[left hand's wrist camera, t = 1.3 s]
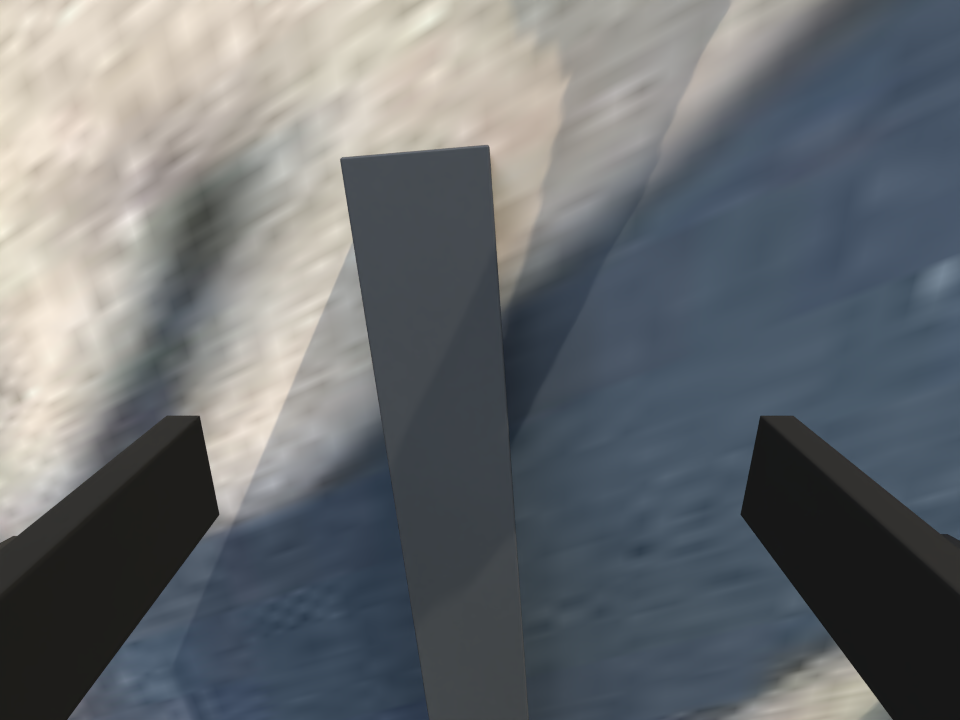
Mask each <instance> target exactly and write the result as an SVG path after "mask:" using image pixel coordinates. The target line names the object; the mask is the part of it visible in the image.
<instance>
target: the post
mask: <svg viewBox="0 0 960 720" xmlns="http://www.w3.org/2000/svg"><path fill="white" fill-rule="evenodd" d="M340 161H341V168H342V174H343V180H344V187H345V193H346V199H347V206H348V212H349V218H350V224H351V231H352V237H353V243H354V250H355V256H356V262H357V268H358V275H359V281H360V287H361V294H362V300H363V306H364V313H365V319H366V325H367V331H368V338H369V344H370V350H371V357H372V363H373V369H374V375H375V382H376V388H377V394H378V401H379V407H380V413H381V420H382V426H383V432H384V438H385V445H386V451H387V457H388V464H389V470H390V476H391V482H392V489H393V495H394V501H395V508H396V514H397V520H398V527H399V533H400V539H401V545H402V552H403V558H404V564H405V571H406V577H407V583H408V589H409V596H410V602H411V608H412V615H413V621H414V627H415V634H416V640H417V646H418V652H419V659H420V665H421V671H422V678H423V684H424V690H425V696H426V703H427V709H428V715H429V720H529V717H528V703H527V688H526V674H525V659H524V645H523V630H522V616H521V601H520V586H519V572H518V557H517V543H516V528H515V514H514V499H513V484H512V470H511V455H510V441H509V426H508V412H507V397H506V382H505V368H504V353H503V339H502V324H501V310H500V295H499V281H498V266H497V251H496V237H495V222H494V208H493V193H492V179H491V164H490V149H489V146H488V145H481V146H469V147H458V148H446V149H435V150H423V151H411V152H400V153H388V154H377V155H365V156H354V157H342V158H341V159H340Z"/></svg>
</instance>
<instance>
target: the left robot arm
mask: <svg viewBox="0 0 960 720" xmlns="http://www.w3.org/2000/svg"><path fill="white" fill-rule="evenodd" d="M218 516H219V510H218V505H217V500H216V495H215V490H214V485H213V480H212V475H211V470H210V465H209V460H208V455H207V450H206V445H205V440H204V435H203V430H202V425H201V420H200V416H166V417H165V418H163V419H162V420H161V421H160V422H158V423H157V424H156V425H155V426H154V427H152V428H151V429H150V430H149V431H147V432H146V433H145V434H144V435H142V436H141V437H140V438H139V439H137V440H136V441H135V442H134V443H132V444H131V445H130V446H129V447H127V448H126V449H125V450H124V451H122V452H121V453H120V454H119V455H117V456H116V457H115V458H114V459H113V460H111V461H110V462H109V463H108V464H106V465H105V466H104V467H103V468H101V469H100V470H99V471H98V472H96V473H95V474H94V475H93V476H91V477H90V478H89V479H88V480H86V481H85V482H84V483H83V484H81V485H80V486H79V487H78V488H76V489H75V490H74V491H73V492H71V493H70V494H69V495H68V496H67V497H65V498H64V499H63V500H62V501H60V502H59V503H58V504H57V505H55V506H54V507H53V508H52V509H50V510H49V511H48V512H47V513H45V514H44V515H43V516H42V517H40V518H39V519H38V520H37V521H35V522H34V523H33V524H32V525H30V526H29V527H28V528H27V529H25V530H24V531H23V532H22V533H21V534H19V535H18V536H13V537H11V538H9V539H7V540H5V541H3V542H1V543H0V720H67V719H68V718H69V716H70V715H71V714H72V712H73V711H74V710H75V708H76V707H77V706H78V704H79V703H80V702H81V700H82V699H83V697H84V696H85V695H86V693H87V692H88V691H89V689H90V688H91V687H92V685H93V684H94V683H95V681H96V680H97V679H98V677H99V676H100V675H101V673H102V672H103V671H104V669H105V668H106V667H107V665H108V664H109V662H110V661H111V660H112V658H113V657H114V656H115V654H116V653H117V652H118V650H119V649H120V648H121V646H122V645H123V644H124V642H125V641H126V640H127V638H128V637H129V636H130V634H131V633H132V632H133V630H134V629H135V628H136V626H137V625H138V623H139V622H140V621H141V619H142V618H143V617H144V615H145V614H146V613H147V611H148V610H149V609H150V607H151V606H152V605H153V603H154V602H155V601H156V599H157V598H158V597H159V595H160V594H161V593H162V591H163V590H164V588H165V587H166V586H167V584H168V583H169V582H170V580H171V579H172V578H173V576H174V575H175V574H176V572H177V571H178V570H179V568H180V567H181V566H182V564H183V563H184V562H185V560H186V559H187V558H188V556H189V555H190V553H191V552H192V551H193V549H194V548H195V547H196V545H197V544H198V543H199V541H200V540H201V539H202V537H203V536H204V535H205V533H206V532H207V531H208V529H209V528H210V527H211V525H212V524H213V523H214V521H215V520H216V518H217V517H218ZM741 516H742V517H743V518H744V520H745V521H746V523H747V524H748V525H749V527H750V528H751V529H752V531H753V532H754V533H755V535H756V536H757V537H758V539H759V540H760V541H761V543H762V544H763V545H764V547H765V548H766V549H767V551H768V552H769V553H770V555H771V556H772V558H773V559H774V560H775V562H776V563H777V564H778V566H779V567H780V568H781V570H782V571H783V572H784V574H785V575H786V576H787V578H788V579H789V580H790V582H791V583H792V584H793V586H794V587H795V588H796V590H797V591H798V593H799V594H800V595H801V597H802V598H803V599H804V601H805V602H806V603H807V605H808V606H809V607H810V609H811V610H812V611H813V613H814V614H815V615H816V617H817V618H818V619H819V621H820V622H821V623H822V625H823V626H824V628H825V629H826V630H827V632H828V633H829V634H830V636H831V637H832V638H833V640H834V641H835V642H836V644H837V645H838V646H839V648H840V649H841V650H842V652H843V653H844V654H845V656H846V657H847V658H848V660H849V661H850V662H851V664H852V665H853V667H854V668H855V669H856V671H857V672H858V673H859V675H860V676H861V677H862V679H863V680H864V681H865V683H866V684H867V685H868V687H869V688H870V689H871V691H872V692H873V693H874V695H875V696H876V697H877V699H878V700H879V702H880V703H881V704H882V706H883V707H884V708H885V710H886V711H887V712H888V714H889V715H890V716H891V718H892V719H893V720H960V541H959V540H957V539H955V538H954V537H952V536H950V535H948V534H939V533H938V532H937V531H936V530H935V529H933V528H932V527H931V526H930V525H928V524H927V523H926V522H925V521H923V520H922V519H921V518H920V517H918V516H917V515H916V514H915V513H913V512H912V511H911V510H910V509H908V508H907V507H906V506H905V505H903V504H902V503H901V502H900V501H898V500H897V499H896V498H895V497H893V496H892V495H891V494H890V493H889V492H887V491H886V490H885V489H884V488H882V487H881V486H880V485H879V484H877V483H876V482H875V481H874V480H872V479H871V478H870V477H869V476H867V475H866V474H865V473H864V472H862V471H861V470H860V469H859V468H857V467H856V466H855V465H854V464H852V463H851V462H850V461H849V460H847V459H846V458H845V457H844V456H843V455H841V454H840V453H839V452H838V451H836V450H835V449H834V448H833V447H831V446H830V445H829V444H828V443H826V442H825V441H824V440H823V439H821V438H820V437H819V436H818V435H816V434H815V433H814V432H813V431H811V430H810V429H809V428H808V427H806V426H805V425H804V424H803V423H802V422H800V421H799V420H798V419H797V418H795V417H794V416H760V420H759V425H758V430H757V435H756V440H755V445H754V450H753V455H752V460H751V465H750V470H749V475H748V480H747V485H746V490H745V495H744V500H743V505H742V510H741Z"/></svg>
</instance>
